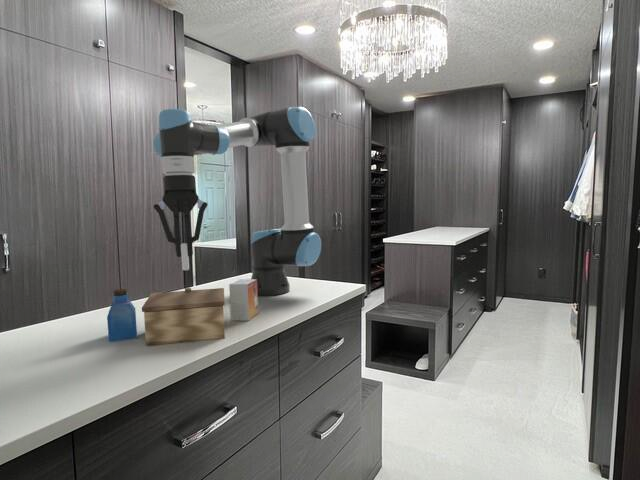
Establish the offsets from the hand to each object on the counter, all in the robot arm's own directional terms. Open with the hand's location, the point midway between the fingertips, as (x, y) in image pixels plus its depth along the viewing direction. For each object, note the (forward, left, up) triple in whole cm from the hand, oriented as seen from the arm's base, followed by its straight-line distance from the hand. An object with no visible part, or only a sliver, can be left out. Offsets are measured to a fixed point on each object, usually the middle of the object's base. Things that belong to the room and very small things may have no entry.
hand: (185, 269), depth 104 cm
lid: (0, 0, -8) cm, 8 cm away
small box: (-15, -11, -17) cm, 25 cm away
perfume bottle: (+16, -3, -17) cm, 24 cm away
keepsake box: (0, 0, -17) cm, 17 cm away
